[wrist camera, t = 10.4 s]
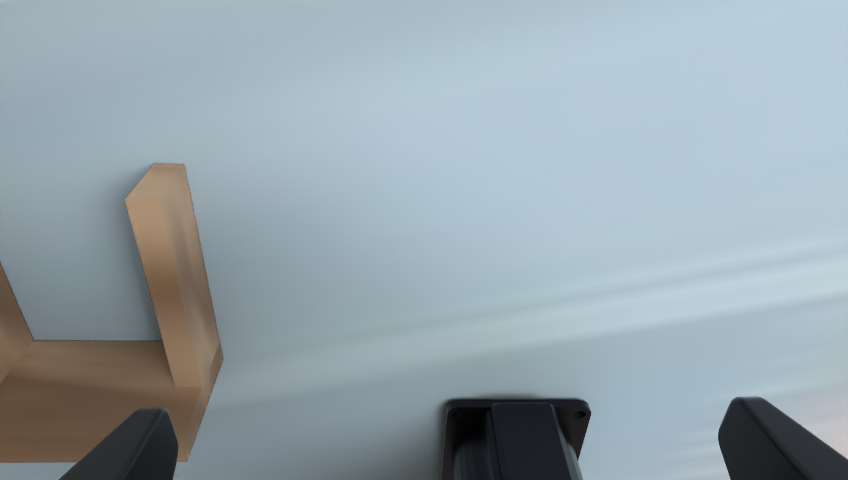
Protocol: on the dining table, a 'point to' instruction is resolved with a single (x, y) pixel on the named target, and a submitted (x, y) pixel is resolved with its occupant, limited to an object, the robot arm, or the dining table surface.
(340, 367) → the dining table surface
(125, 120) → the dining table surface
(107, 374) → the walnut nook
